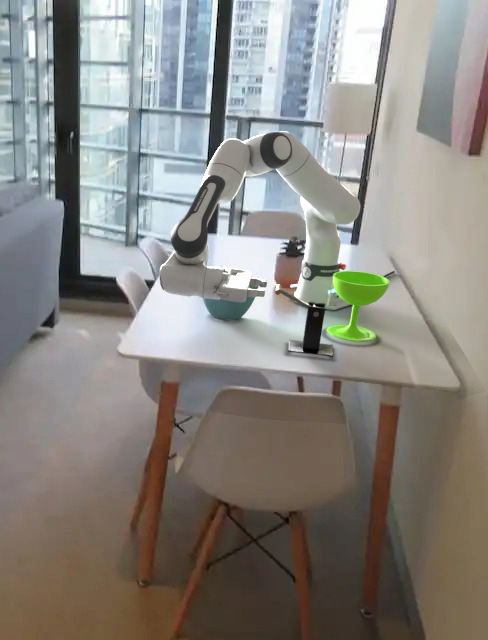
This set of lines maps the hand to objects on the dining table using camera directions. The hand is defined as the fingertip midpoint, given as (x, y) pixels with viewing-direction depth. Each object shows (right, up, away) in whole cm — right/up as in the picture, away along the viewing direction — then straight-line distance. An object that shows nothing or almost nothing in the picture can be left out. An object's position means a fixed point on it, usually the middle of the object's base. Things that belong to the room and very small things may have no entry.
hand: (265, 288), depth 198 cm
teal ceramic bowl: (-7, -6, +29) cm, 30 cm away
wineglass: (+29, -12, +18) cm, 36 cm away
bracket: (+13, -17, +4) cm, 22 cm away
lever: (+8, -4, 0) cm, 9 cm away
